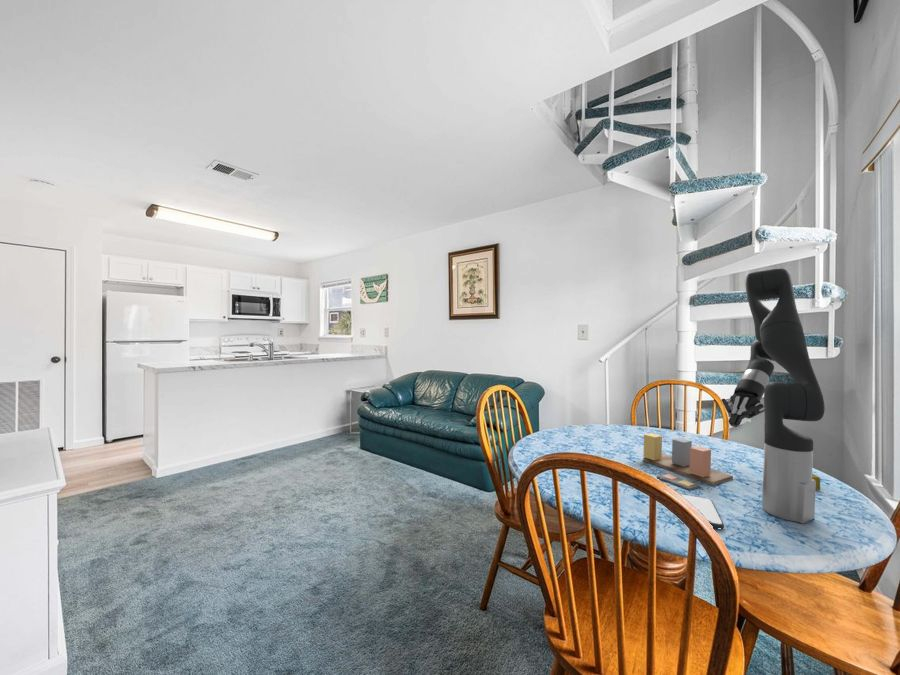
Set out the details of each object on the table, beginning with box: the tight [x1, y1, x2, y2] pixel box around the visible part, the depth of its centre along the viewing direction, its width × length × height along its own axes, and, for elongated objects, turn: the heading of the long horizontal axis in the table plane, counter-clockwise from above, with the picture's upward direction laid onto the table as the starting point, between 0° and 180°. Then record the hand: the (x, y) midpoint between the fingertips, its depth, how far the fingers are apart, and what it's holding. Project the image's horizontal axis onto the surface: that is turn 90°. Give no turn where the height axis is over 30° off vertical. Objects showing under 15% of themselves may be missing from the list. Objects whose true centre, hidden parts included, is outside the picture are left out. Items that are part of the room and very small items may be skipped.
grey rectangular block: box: [671, 437, 693, 467], centre depth 127 cm, size 4×4×8 cm
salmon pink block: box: [690, 445, 712, 477], centre depth 118 cm, size 4×4×8 cm
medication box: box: [812, 473, 821, 491], centre depth 116 cm, size 12×3×4 cm, turn 173°
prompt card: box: [656, 472, 701, 491], centre depth 115 cm, size 10×5×1 cm, turn 27°
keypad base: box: [642, 453, 734, 486], centre depth 126 cm, size 23×11×1 cm, turn 27°
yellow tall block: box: [642, 432, 663, 460], centre depth 133 cm, size 4×4×8 cm
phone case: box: [680, 493, 725, 530], centre depth 97 cm, size 9×2×16 cm
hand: (732, 425), depth 126 cm, fingers closed
